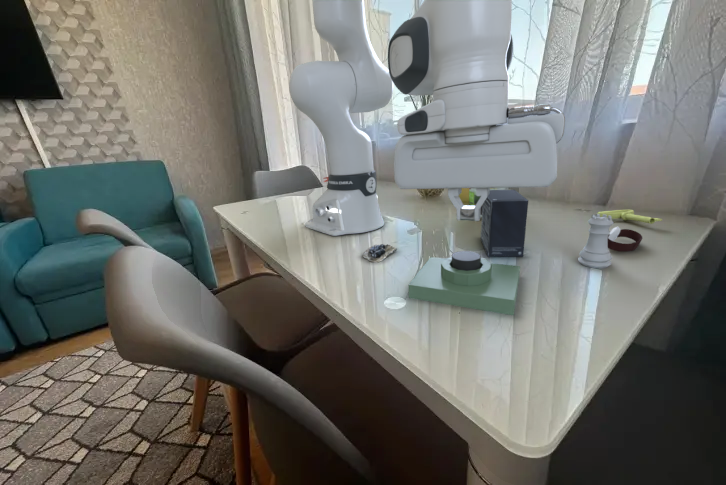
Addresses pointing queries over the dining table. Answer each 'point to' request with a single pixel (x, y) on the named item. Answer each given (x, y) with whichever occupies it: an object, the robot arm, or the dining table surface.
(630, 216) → the yellow-green branched tube
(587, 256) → the rook chess piece
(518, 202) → the small box
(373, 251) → the blueberries
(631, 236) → the watch
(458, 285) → the button box
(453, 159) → the robot arm
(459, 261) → the spray button
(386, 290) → the dining table surface
